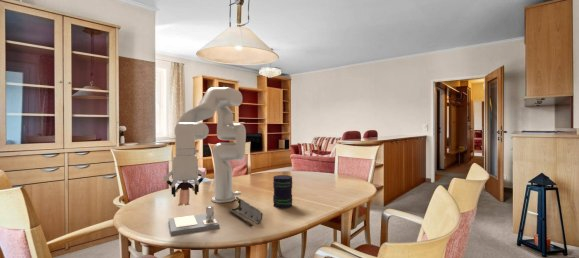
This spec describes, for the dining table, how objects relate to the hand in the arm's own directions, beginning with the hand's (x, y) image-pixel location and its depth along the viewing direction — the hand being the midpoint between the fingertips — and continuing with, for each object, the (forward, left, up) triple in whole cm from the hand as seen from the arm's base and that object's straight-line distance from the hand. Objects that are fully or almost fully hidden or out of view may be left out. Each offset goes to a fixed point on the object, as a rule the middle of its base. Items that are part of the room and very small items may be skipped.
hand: (185, 194), depth 116 cm
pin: (-9, +5, -11) cm, 15 cm away
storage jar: (-48, -8, -13) cm, 50 cm away
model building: (-25, 0, -13) cm, 28 cm away
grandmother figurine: (0, 0, -4) cm, 4 cm away
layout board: (-3, +1, -13) cm, 13 cm away
